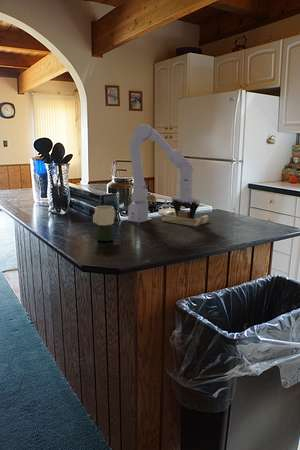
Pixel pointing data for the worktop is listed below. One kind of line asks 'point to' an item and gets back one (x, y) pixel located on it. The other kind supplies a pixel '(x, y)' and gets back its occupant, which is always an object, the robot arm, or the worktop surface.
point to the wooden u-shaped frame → (183, 219)
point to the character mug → (104, 222)
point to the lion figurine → (151, 198)
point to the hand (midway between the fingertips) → (185, 217)
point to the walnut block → (184, 213)
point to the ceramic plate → (166, 210)
